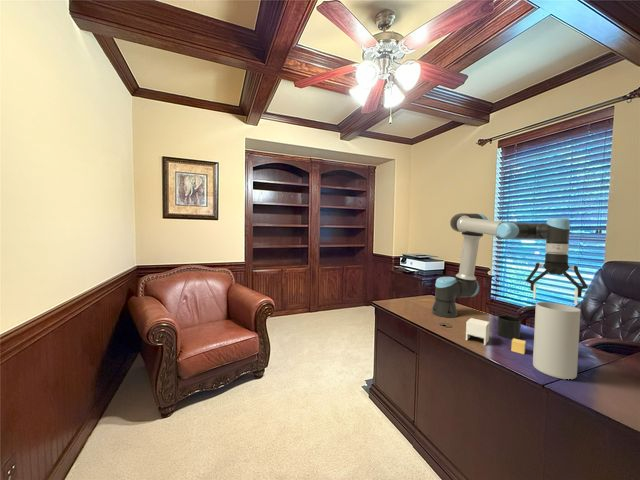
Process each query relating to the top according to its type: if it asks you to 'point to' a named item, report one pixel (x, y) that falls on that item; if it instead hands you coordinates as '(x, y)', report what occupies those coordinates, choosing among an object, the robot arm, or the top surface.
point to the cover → (477, 329)
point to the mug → (509, 327)
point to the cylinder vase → (556, 339)
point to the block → (518, 346)
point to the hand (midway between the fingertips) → (554, 301)
